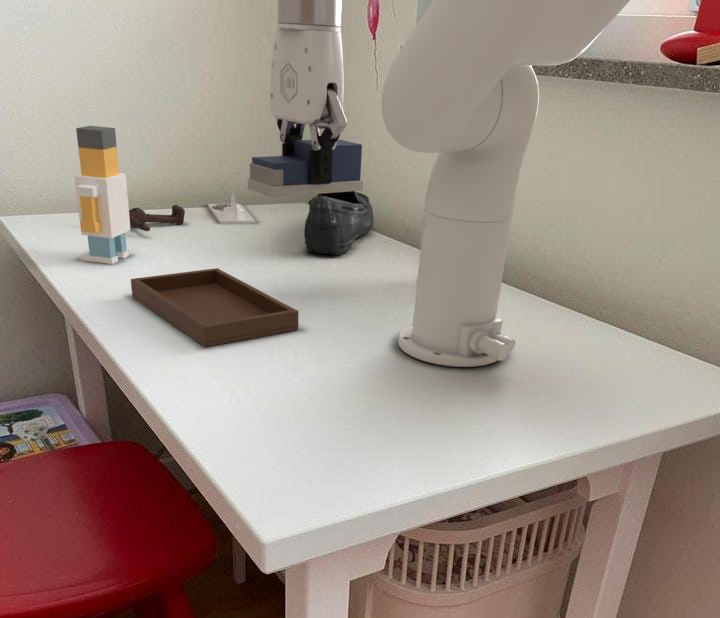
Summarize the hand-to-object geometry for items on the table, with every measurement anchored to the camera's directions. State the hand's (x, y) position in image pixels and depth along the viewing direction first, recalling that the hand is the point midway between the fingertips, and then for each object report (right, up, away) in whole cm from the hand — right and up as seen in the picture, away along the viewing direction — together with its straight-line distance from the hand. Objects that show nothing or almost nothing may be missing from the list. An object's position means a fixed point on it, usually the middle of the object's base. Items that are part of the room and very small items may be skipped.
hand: (306, 178), depth 99 cm
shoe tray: (-12, -18, -2) cm, 21 cm away
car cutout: (-18, +12, +48) cm, 53 cm away
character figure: (-31, -5, +17) cm, 36 cm away
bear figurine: (-31, +5, +36) cm, 48 cm away
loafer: (+4, +4, +37) cm, 37 cm away
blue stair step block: (0, -1, +1) cm, 1 cm away
